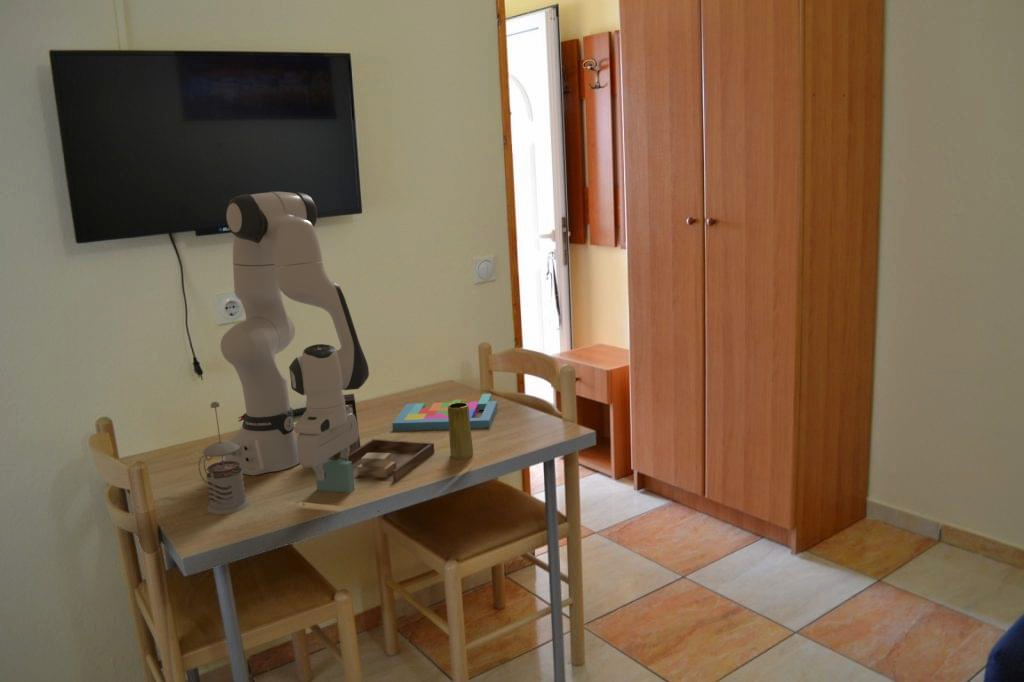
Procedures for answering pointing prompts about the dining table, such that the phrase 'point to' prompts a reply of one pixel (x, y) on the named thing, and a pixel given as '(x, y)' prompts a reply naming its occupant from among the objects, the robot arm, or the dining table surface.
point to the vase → (460, 431)
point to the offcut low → (377, 470)
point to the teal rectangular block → (337, 476)
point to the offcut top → (376, 459)
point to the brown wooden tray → (393, 456)
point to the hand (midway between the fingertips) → (333, 472)
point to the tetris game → (443, 415)
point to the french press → (224, 478)
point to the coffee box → (351, 402)
